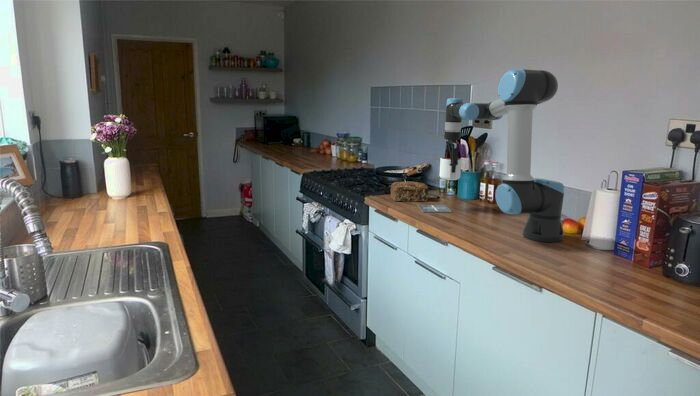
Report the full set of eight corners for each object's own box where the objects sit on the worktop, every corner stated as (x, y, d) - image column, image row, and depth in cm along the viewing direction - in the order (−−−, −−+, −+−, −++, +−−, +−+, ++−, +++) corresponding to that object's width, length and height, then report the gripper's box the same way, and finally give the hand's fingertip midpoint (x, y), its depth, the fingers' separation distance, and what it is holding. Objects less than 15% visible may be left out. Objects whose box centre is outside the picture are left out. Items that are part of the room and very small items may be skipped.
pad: (452, 212, 224) (452, 211, 224) (423, 212, 223) (423, 211, 223) (444, 206, 238) (444, 204, 238) (417, 206, 237) (417, 204, 237)
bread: (394, 202, 245) (394, 183, 243) (389, 198, 256) (390, 179, 253) (428, 202, 247) (429, 183, 245) (423, 197, 258) (424, 179, 256)
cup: (461, 180, 224) (463, 160, 221) (440, 180, 224) (442, 159, 222) (458, 177, 233) (459, 157, 231) (437, 176, 234) (439, 156, 232)
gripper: (467, 133, 213) (463, 181, 218) (454, 129, 235) (451, 173, 240) (450, 133, 212) (447, 181, 217) (439, 129, 235) (437, 173, 239)
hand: (449, 177), depth 228 cm, fingers closed on cup, 10 cm apart
